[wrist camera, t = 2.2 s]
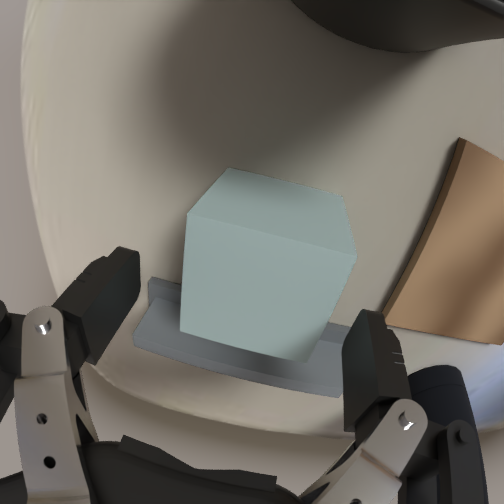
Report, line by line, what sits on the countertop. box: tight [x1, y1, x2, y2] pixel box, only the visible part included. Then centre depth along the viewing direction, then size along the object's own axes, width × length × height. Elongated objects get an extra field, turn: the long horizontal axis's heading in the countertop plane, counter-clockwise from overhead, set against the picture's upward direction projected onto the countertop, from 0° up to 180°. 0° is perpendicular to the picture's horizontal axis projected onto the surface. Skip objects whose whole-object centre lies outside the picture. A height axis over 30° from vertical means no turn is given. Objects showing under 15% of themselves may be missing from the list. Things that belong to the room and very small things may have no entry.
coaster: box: [382, 137, 504, 345], centre depth 13 cm, size 11×11×1 cm
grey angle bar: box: [132, 277, 351, 398], centre depth 17 cm, size 13×3×4 cm, turn 79°
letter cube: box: [180, 167, 357, 363], centre depth 13 cm, size 6×6×6 cm
